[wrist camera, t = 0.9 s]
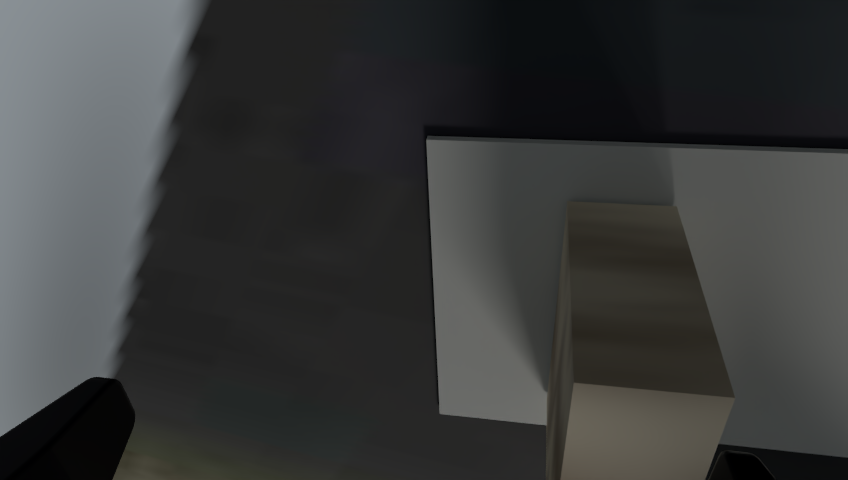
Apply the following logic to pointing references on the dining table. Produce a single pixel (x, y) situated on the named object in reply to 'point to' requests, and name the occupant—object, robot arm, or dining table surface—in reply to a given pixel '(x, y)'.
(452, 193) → the white flat tray
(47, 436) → the robot arm
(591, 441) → the beech slab
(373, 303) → the dining table surface
